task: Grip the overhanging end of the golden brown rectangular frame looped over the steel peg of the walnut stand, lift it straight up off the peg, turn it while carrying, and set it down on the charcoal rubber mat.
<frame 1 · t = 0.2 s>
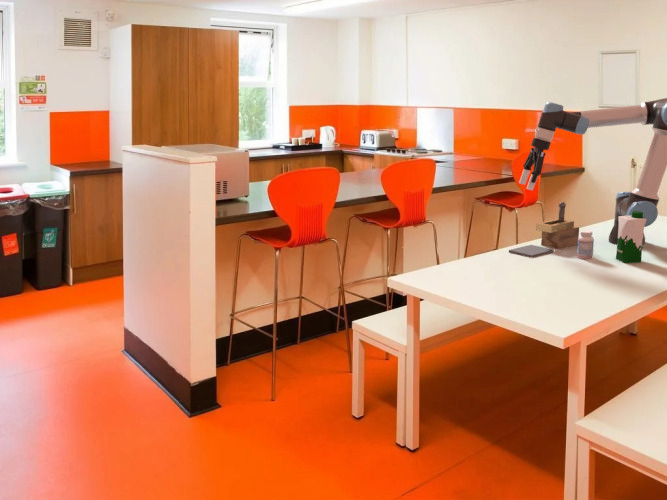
hand: (525, 186, 290), 27 cm above the table, tool tilted 15°, fingers open, 13 cm apart
rubber mat: (531, 252, 289), on the table
milk carton: (628, 261, 272), on the table
golden brown rectangular frame: (554, 228, 296), point 8 cm above the table, touching walnut stand
walnut stand: (559, 244, 300), on the table
pill bottle: (584, 258, 278), on the table
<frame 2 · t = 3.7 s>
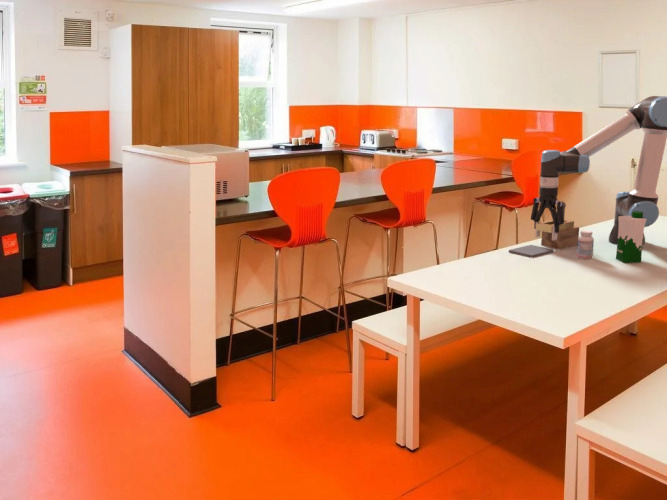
hand: (545, 238, 293), 5 cm above the table, tool pointing down, fingers closed on golden brown rectangular frame, 8 cm apart
golden brown rectangular frame: (554, 228, 296), point 8 cm above the table, touching gripper, walnut stand
everything else where it was.
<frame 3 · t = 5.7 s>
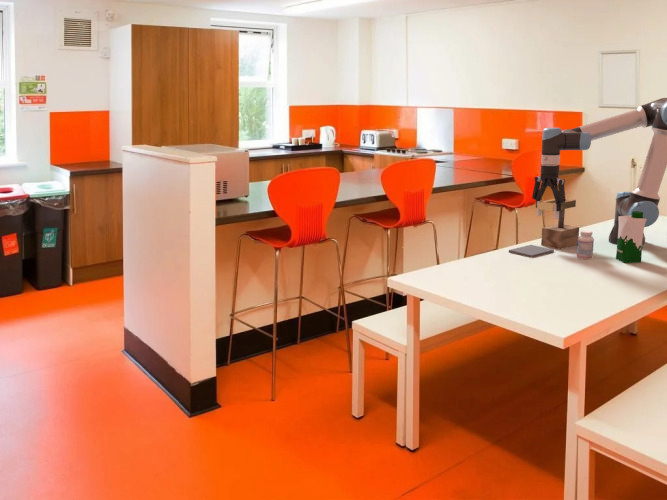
hand: (547, 216, 291), 14 cm above the table, tool pointing down, fingers closed on golden brown rectangular frame, 8 cm apart
golden brown rectangular frame: (556, 207, 293), point 17 cm above the table, touching gripper
everything else where it was.
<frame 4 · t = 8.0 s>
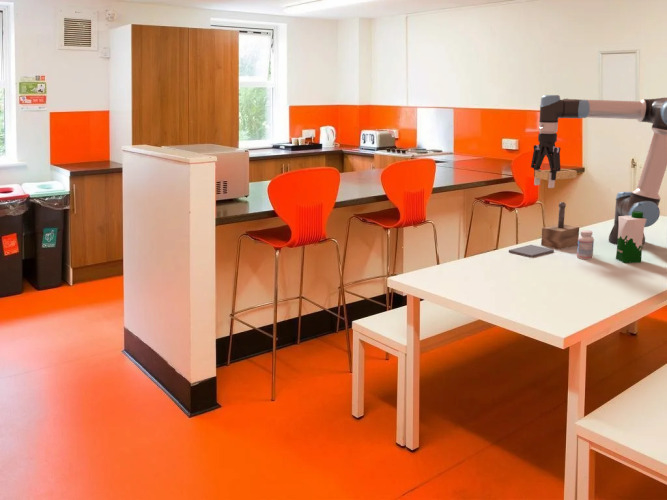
hand: (544, 186, 287), 28 cm above the table, tool pointing down, fingers closed on golden brown rectangular frame, 8 cm apart
golden brown rectangular frame: (555, 177, 289), point 31 cm above the table, touching gripper
everything else where it was.
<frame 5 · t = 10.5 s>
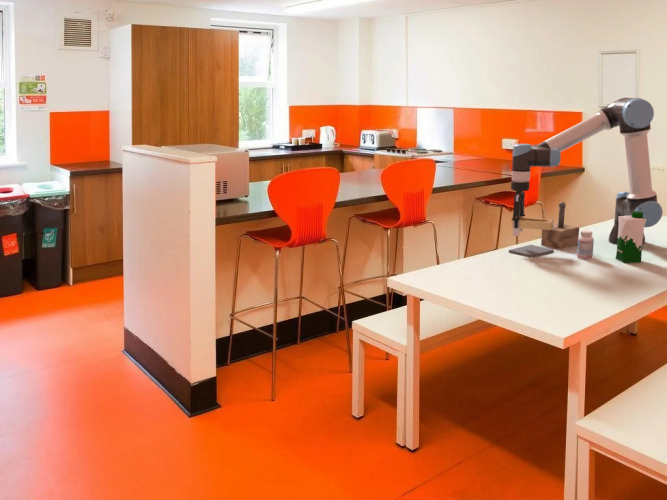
hand: (517, 233, 289), 8 cm above the table, tool pointing down, fingers closed on golden brown rectangular frame, 8 cm apart
golden brown rectangular frame: (532, 226, 286), point 11 cm above the table, touching gripper
everything else where it was.
when the fingers open (2 cm above the table, at t = 12.6 s): golden brown rectangular frame drops 4 cm, resting on rubber mat.
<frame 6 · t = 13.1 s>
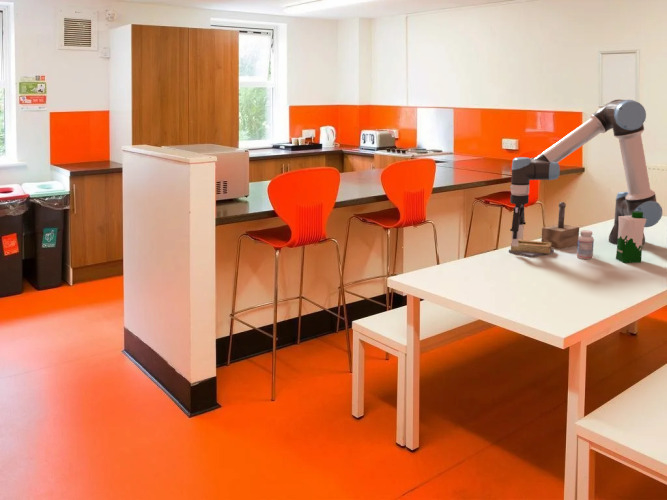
hand: (517, 242, 290), 4 cm above the table, tool pointing down, fingers open, 13 cm apart
golden brown rectangular frame: (531, 249, 289), point 1 cm above the table, touching rubber mat
everything else where it was.
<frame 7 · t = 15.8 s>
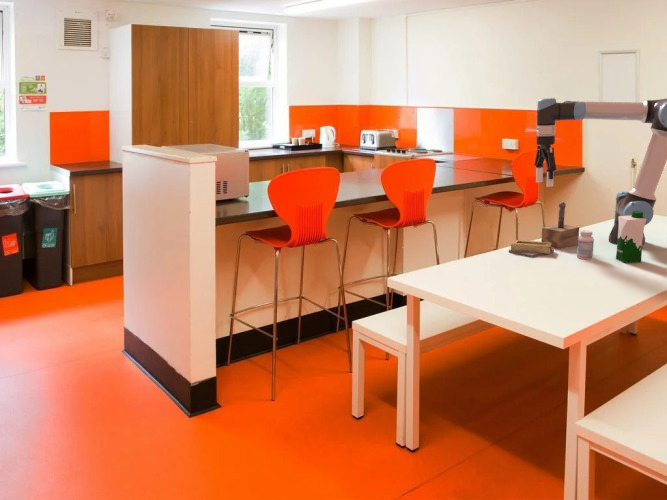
hand: (544, 184, 292), 28 cm above the table, tool pointing down, fingers open, 13 cm apart
nothing on the table moved.
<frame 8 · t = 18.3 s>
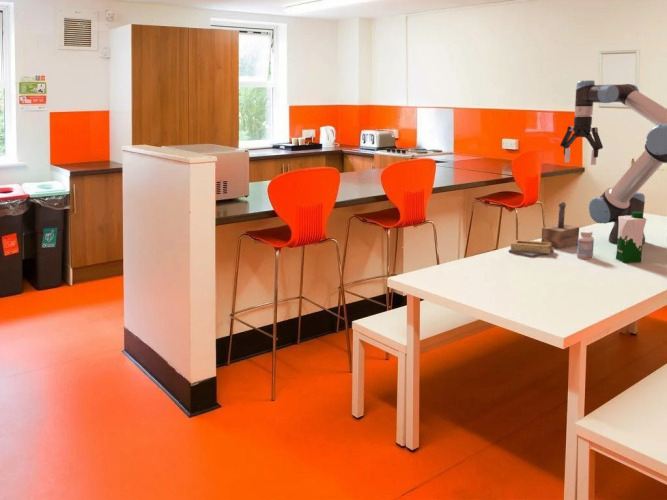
hand: (579, 163, 304), 35 cm above the table, tool pointing down, fingers open, 13 cm apart
nothing on the table moved.
at the end: golden brown rectangular frame inside the target area on the rubber mat (0.1 cm from its centre), point 1.0 cm above the rubber mat's base; the gripper is holding nothing; golden brown rectangular frame tilted 0° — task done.
